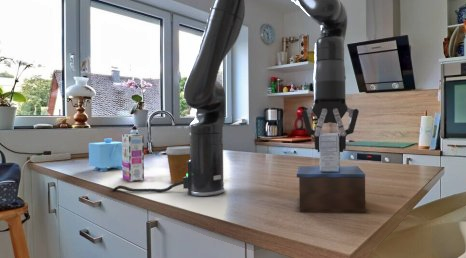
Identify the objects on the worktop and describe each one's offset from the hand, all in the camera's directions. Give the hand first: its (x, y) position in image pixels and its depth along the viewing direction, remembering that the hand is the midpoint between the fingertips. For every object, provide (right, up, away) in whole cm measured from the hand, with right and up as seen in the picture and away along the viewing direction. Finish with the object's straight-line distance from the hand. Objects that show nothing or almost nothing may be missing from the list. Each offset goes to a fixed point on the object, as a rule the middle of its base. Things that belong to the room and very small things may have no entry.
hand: (330, 151), depth 71 cm
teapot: (-90, -13, +60) cm, 109 cm away
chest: (0, -13, 0) cm, 13 cm away
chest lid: (0, -5, 0) cm, 5 cm away
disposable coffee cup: (-47, -13, +31) cm, 58 cm away
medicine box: (0, -5, 0) cm, 5 cm away
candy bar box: (-67, -13, +36) cm, 77 cm away
